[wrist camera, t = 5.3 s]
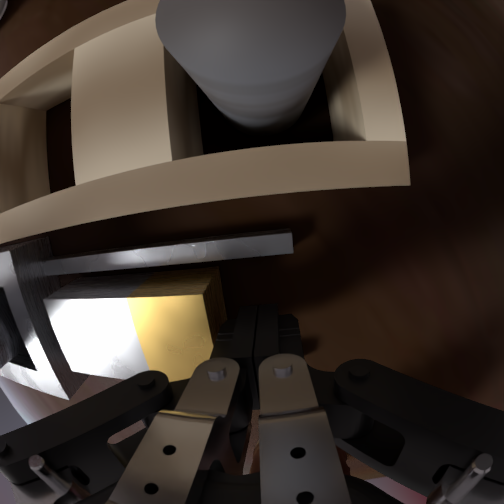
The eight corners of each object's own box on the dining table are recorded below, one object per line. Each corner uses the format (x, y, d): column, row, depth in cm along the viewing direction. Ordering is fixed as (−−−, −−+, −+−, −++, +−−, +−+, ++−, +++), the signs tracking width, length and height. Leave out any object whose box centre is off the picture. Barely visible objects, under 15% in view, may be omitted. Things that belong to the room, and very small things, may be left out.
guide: (53, 256, 13) (42, 261, 12) (290, 228, 12) (291, 232, 11) (86, 355, 14) (78, 364, 13) (298, 358, 13) (300, 370, 12)
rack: (33, 100, 10) (-55, 87, 4) (337, 19, 9) (379, -78, 2) (41, 228, 12) (-52, 264, 6) (367, 181, 11) (474, 194, 4)
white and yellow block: (77, 278, 13) (42, 299, 10) (218, 266, 12) (202, 294, 9) (98, 342, 14) (72, 370, 11) (231, 344, 13) (222, 384, 10)
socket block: (-15, 251, 13) (-44, 263, 10) (48, 236, 12) (9, 250, 9) (20, 355, 16) (-1, 374, 12) (93, 370, 15) (69, 400, 12)
